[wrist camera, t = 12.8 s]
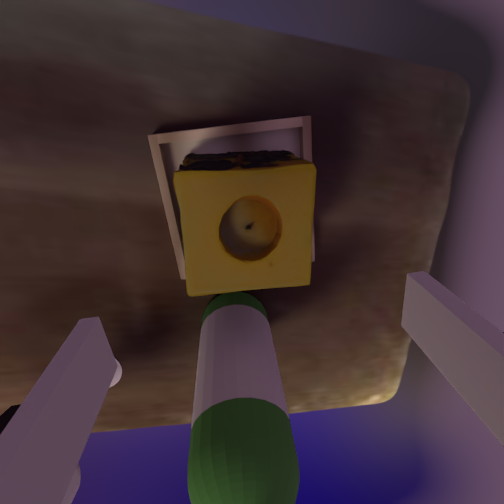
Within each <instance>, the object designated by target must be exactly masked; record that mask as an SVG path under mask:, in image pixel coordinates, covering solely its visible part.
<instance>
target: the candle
mask: <svg viewBox="0 0 504 504" xmlns="http://www.w3.org/2000/svg"><path fill="white" fill-rule="evenodd" d="M184 158H185V159H184V160H183V164H180V166H179V170H177V171H175V172H174V177H173V183H174V188H175V193H176V197H177V200H178V204H179V207H180V217H181V228H182V235H181V241H182V242H183V245H184V257H185V276H186V286H187V293H188V295H189V296H202V295H210V294H219V293H229V292H236V291H246V290H256V289H267V288H280V287H297V286H304V285H310V279H311V262H312V250H311V243H312V224H313V213H314V205H315V186H316V170H317V169H316V167H315V166H314V164H313V163H312V162H310V161H308V160H305V159H301V158H298V157H296V156H295V154H293V153H292V152H290V151H286V150H281V151H278V150H277V151H273V150H272V151H267V150H262V151H258V152H255V151H251V152H248V151H246V152H243V151H242V152H229V151H228V152H227V153H219V154H213V153H211V154H195V153H190V154H187V155H186V156H185V157H184Z"/></svg>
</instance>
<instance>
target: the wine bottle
mask: <svg viewBox="0 0 504 504" xmlns="http://www.w3.org/2000/svg"><path fill="white" fill-rule="evenodd" d="M298 487H299V464H298V459H297V454H296V449H295V444H294V440H293V435H292V430H291V424H290V419H289V415H288V410H287V405H286V401H285V396H284V391H283V387H282V382H281V378H280V373H279V368H278V364H277V359H276V354H275V350H274V345H273V340H272V336H271V331H270V326H269V323H268V318H267V314H266V310H265V309H264V307H263V305H262V303H261V302H260V301H259V300H258V299H256V298H255V297H254V296H252V295H250V294H248V293H244V292H229V293H224V294H221V295H219V296H217V297H216V298H215V299H213V300H212V301H211V302H210V303H209V305H208V306H207V307H206V309H205V312H204V315H203V318H202V327H201V334H200V344H199V354H198V364H197V375H196V385H195V395H194V405H193V415H192V425H191V438H190V450H189V459H188V492H189V497H190V501H191V504H295V501H296V497H297V493H298Z"/></svg>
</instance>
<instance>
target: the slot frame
mask: <svg viewBox="0 0 504 504" xmlns="http://www.w3.org/2000/svg"><path fill="white" fill-rule="evenodd" d="M148 139H149V144H150V148H151V152H152V157H153V161H154V165H155V170H156V174H157V178H158V182H159V187H160V191H161V195H162V200H163V204H164V208H165V212H166V217H167V221H168V225H169V230H170V234H171V238H172V243H173V247H174V251H175V255H176V260H177V264H178V268H179V273H180V277H181V279H186V276H185V257H184V245H183V242H182V241H181V235H182V228H181V217H180V207H179V204H178V200H177V197H176V193H175V188H174V183H173V177H174V172H175V171H177V170H179V166H180V164H183V160H184V159H185V158H184V157H185V156H186V155H187V154H190V153H195V154H211V153H213V154H219V153H227V152H228V151H229V152H242V151H243V152H246V151H248V152H251V151H255V152H258V151H262V150H267V151H272V150H273V151H277V150H278V151H281V150H286V151H290V152H292V153H293V154H295V156H296V157H298V158H301V159H305V160H308V161H310V162H312V137H311V116H300V117H291V118H283V119H275V120H266V121H258V122H250V123H241V124H233V125H225V126H217V127H208V128H200V129H192V130H183V131H175V132H167V133H158V134H151V135H148ZM311 250H312V262H313V261H315V248H314V213H313V224H312V243H311Z"/></svg>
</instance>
